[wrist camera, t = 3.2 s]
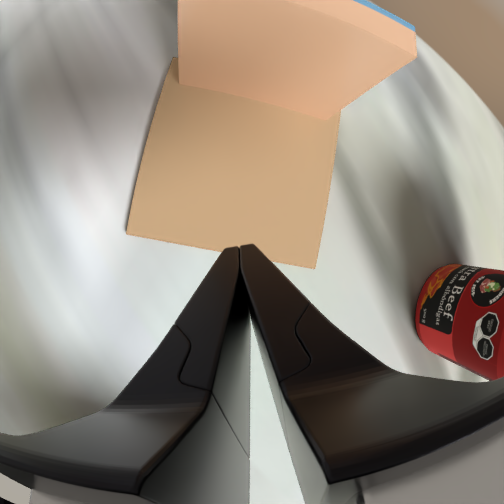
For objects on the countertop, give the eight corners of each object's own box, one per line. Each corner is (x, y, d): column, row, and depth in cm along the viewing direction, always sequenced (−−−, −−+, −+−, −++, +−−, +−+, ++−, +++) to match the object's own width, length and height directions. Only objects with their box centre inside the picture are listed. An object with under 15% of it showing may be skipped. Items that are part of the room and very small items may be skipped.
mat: (312, 268, 21) (315, 269, 20) (127, 234, 18) (126, 234, 18) (339, 102, 20) (342, 100, 20) (173, 59, 18) (173, 57, 17)
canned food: (452, 244, 23) (558, 254, 12) (477, 310, 25) (565, 335, 14) (398, 304, 22) (509, 344, 12) (429, 367, 24) (518, 415, 13)
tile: (325, 120, 20) (416, 57, 10) (178, 84, 18) (178, -21, 8) (329, 96, 20) (414, 26, 10) (187, 59, 18) (193, -48, 8)
